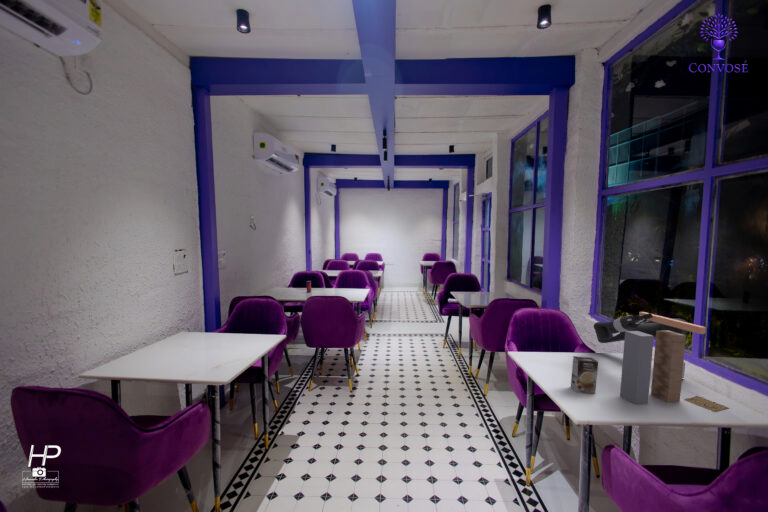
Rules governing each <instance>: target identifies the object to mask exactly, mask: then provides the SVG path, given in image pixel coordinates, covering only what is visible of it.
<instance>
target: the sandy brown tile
mask: <svg viewBox="0 0 768 512" xmlns="http://www.w3.org/2000/svg"><path fill="white" fill-rule="evenodd" d="M683 401H685V402H686V403H687V402H688V403H690V404H693V405H695V406H698V407H701V408H703V409H706V410H707V411H710V410H711V412H713V413H719V412H721V411H724V410H729V409H730V407H728V406H726V405H723V404H720V403H717V402H715V401H713V400H709V399H706V398H705V397H703V396H698V395H696V396H693V397H688V398H684V399H683Z"/></svg>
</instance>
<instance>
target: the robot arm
mask: <svg viewBox="0 0 768 512" xmlns="http://www.w3.org/2000/svg"><path fill="white" fill-rule="evenodd" d="M647 313H648V314H645V315H639V314H637V315H632V314H628V315H625V316H621V317H617V318H616V319H613V320H610V321H597V322H595V323H594V324H593V329H594V332H595V334H596V337H597V341H598V343H601V344H609V343H615V342H620V341H621V342H622V341H624V340H625V331H639V332H643V333H646V334H649V335H652V336H654V338H656V331H659V330H669V331H672V332H676V333H680V334H683V335H687V334H688V333H689V332H690V331H687V330H683V329H679V328H676V327H672V326H668V325H664V324H661V323H657V322H651V321H650V320H646V319H649V318H652V317H653V316H652V314H654V315H658V313H657V312H654V313H650V312H647ZM658 316H659V315H658ZM674 319H675V320H679V321H683V322H687V323H689V322H688V321H687V320H685V319H682V318H679V317H678V318H677V317H676V318H674ZM615 334H616V335H615ZM685 351H686V350H684V353H685ZM685 369H686V362H685V361H683V372H682V378H684V379H685Z"/></svg>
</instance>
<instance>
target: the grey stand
mask: <svg viewBox="0 0 768 512" xmlns="http://www.w3.org/2000/svg"><path fill="white" fill-rule="evenodd" d="M654 338H655V337H654V336H652V335H649V334H646V333H643V332H639V331H625V340H623V341H624V342H623V351H622V352H623V353H622V354H623V355H622V363H621V364H622V366H621V369H622V370H621V377H620V378H621V379H620V391H619V397H621V398H623V399H625V400H626V401H628V402H630V403H632V404H633V405H645V404H649V396H650V387H651V373H652V364H653V363H652V361H653V360H652V359H653V351H654Z"/></svg>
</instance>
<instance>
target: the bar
mask: <svg viewBox="0 0 768 512" xmlns="http://www.w3.org/2000/svg"><path fill="white" fill-rule="evenodd" d="M648 313H649V312H645V311H639V314H638V315H645V314H648ZM651 314H652V316H653V317H652V318H649V319H646V320H650V322H652V323H661V324H664V325H668V326H672V327H676V328H679V329H683V330H687V331H689V332H691V333H694V334H698V335H706V330H707V327H706V326H702V325H699V324H694V323H691V322H688V321H687V322H688V323H687V322H683V321H679V320H675V318H670V317H666V316H662V315H654V313H651Z"/></svg>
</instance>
